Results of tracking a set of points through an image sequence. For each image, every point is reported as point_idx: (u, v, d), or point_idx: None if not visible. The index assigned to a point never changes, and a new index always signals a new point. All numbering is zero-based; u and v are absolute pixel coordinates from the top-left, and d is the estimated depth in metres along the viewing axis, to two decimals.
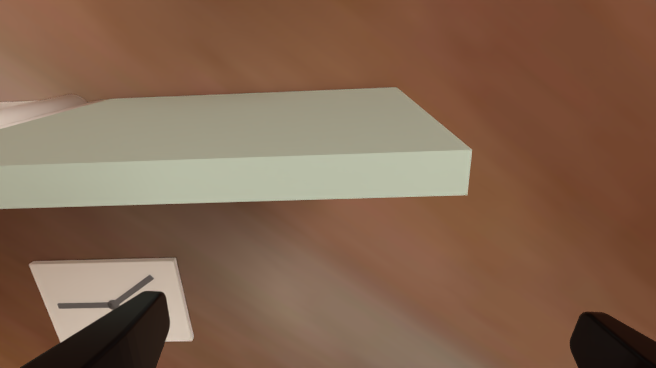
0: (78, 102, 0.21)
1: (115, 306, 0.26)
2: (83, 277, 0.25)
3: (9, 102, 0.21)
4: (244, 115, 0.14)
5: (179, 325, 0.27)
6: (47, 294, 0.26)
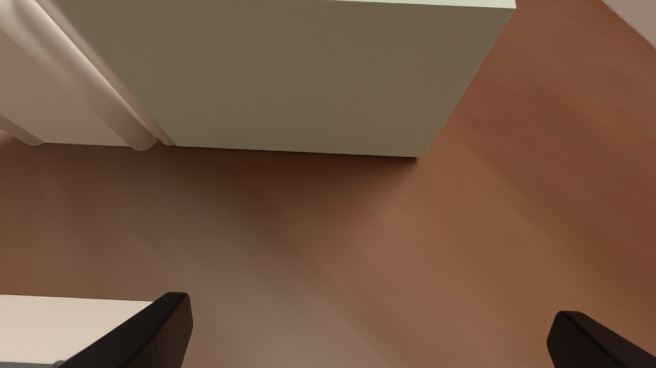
0: None
1: None
2: (44, 319, 0.20)
3: None
4: None
5: None
6: None
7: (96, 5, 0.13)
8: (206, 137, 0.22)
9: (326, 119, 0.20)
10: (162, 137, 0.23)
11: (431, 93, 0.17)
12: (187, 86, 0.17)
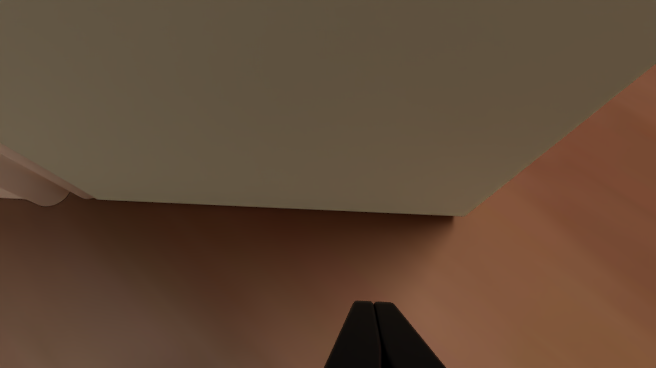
0: None
1: None
2: None
3: None
4: None
5: None
6: None
7: None
8: (136, 190, 0.15)
9: (317, 171, 0.12)
10: (71, 189, 0.15)
11: (506, 136, 0.09)
12: (68, 122, 0.10)
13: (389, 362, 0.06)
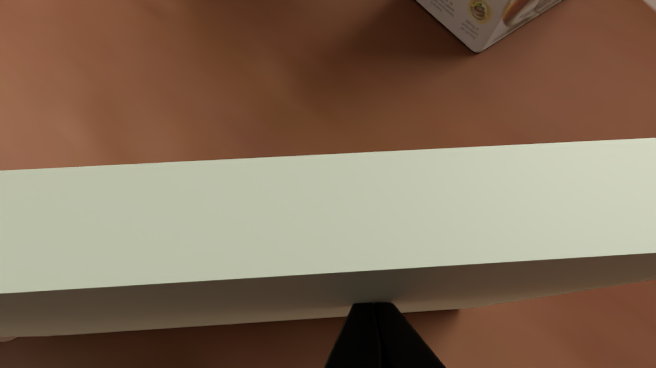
0: None
1: None
2: None
3: None
4: None
5: None
6: None
7: None
8: (105, 331, 0.13)
9: (309, 314, 0.11)
10: (29, 336, 0.13)
11: (525, 294, 0.08)
12: (3, 329, 0.08)
13: (389, 362, 0.06)
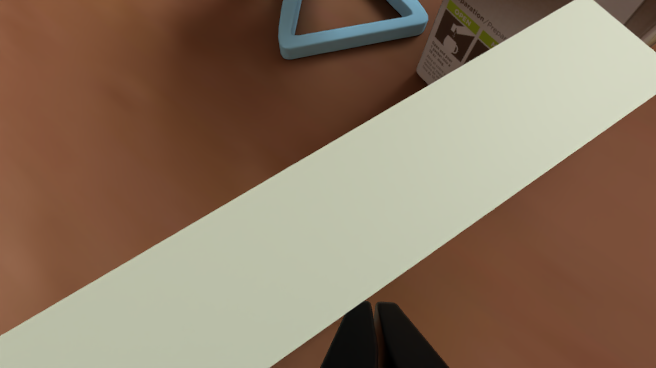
0: None
1: None
2: None
3: None
4: None
5: None
6: None
7: None
8: None
9: None
10: None
11: None
12: None
13: (392, 362, 0.06)
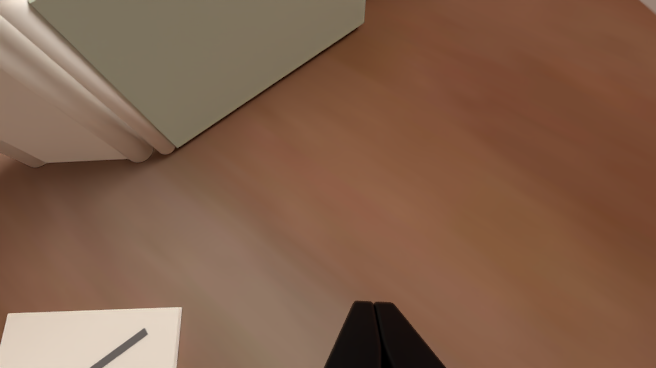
0: None
1: None
2: (62, 333, 0.21)
3: None
4: None
5: None
6: (4, 361, 0.20)
7: None
8: (199, 117, 0.23)
9: (285, 26, 0.22)
10: (163, 144, 0.23)
11: None
12: (171, 58, 0.18)
13: (389, 362, 0.06)
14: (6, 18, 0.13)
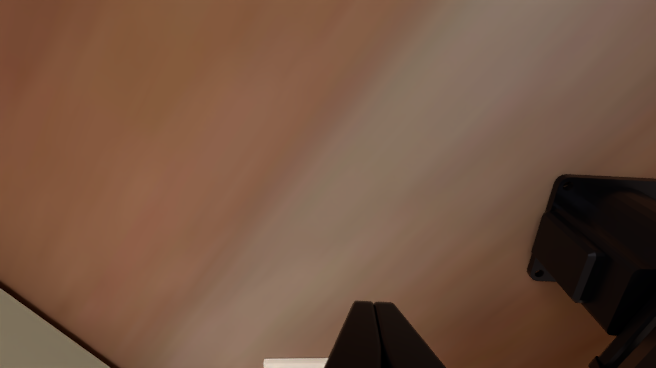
0: None
1: None
2: None
3: None
4: None
5: None
6: None
7: None
8: None
9: None
10: None
11: None
12: None
13: (389, 362, 0.06)
14: None
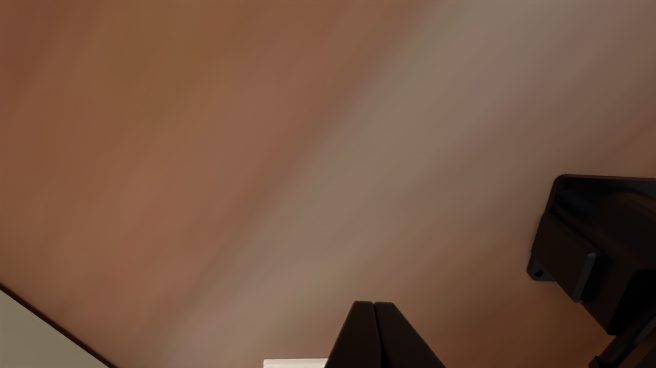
0: None
1: None
2: None
3: None
4: None
5: None
6: None
7: None
8: None
9: None
10: None
11: None
12: None
13: (389, 362, 0.06)
14: None
